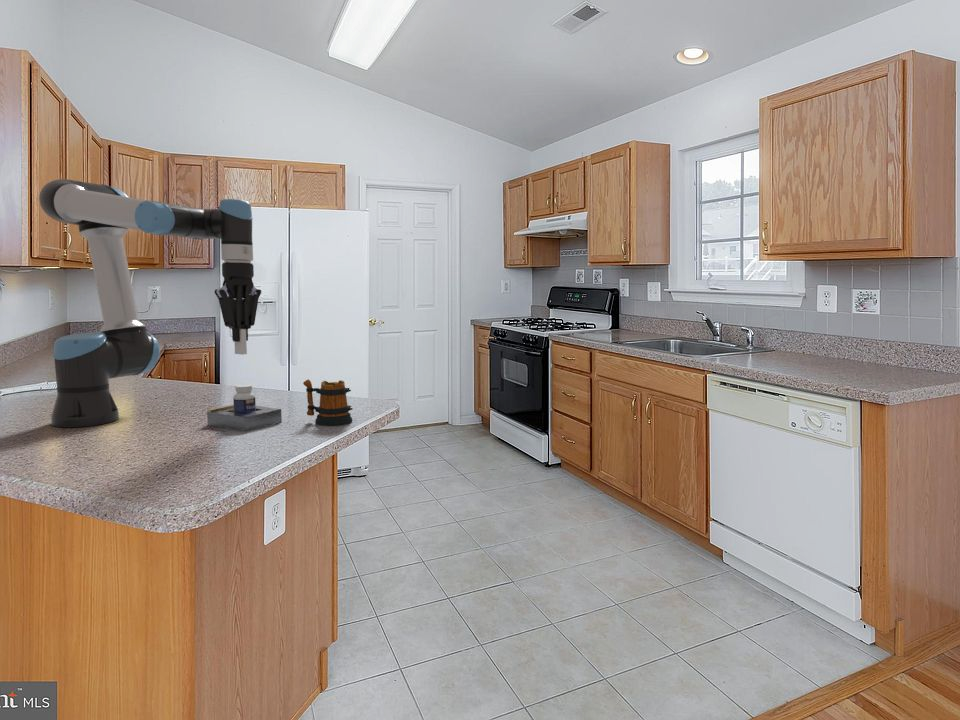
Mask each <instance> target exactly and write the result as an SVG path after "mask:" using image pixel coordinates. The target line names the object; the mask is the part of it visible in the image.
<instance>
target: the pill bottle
mask: <svg viewBox="0 0 960 720" xmlns="http://www.w3.org/2000/svg"><path fill="white" fill-rule="evenodd" d="M252 391H253V386H252V384H237V385H236V386H235V392H236V393H235V394H233V397H232V399H233V404H234V413H240V414H245V413H249V412H254V411H256V406H257V405H256V404H257V403H256V394H254V393H253V392H252Z"/></svg>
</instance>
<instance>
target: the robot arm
mask: <svg viewBox="0 0 960 720" xmlns="http://www.w3.org/2000/svg"><path fill="white" fill-rule="evenodd" d="M38 197H39V198H38V199H39V200H38V201H39V205H40V207H41V210H42V211H43V212H44V213H45V214H46V215H47V216H48V217H49V218H51V219H52V220H54V221H57V222H59V223H63V224H69V225H77V226H78V230H79V231H78V233H79V235H80V236H82V237H83V238H84V239H86V240H87V244H88V249H89V254H90V259H91V264H92V270H93V275H94V279H95V283H96V284H95V285H96V290H97V295H98V300H99V305H100V310H101V316H102V321H103V326H102V327H101V328H100V330H99V331H88V332H81V333H73V334H69V335H64V336H61V337H58V338H57V339H56V340H55V341H54V343H53V354H52V356H53V359H54V368H55V369H54V370H55V381H56V390H57V391H56V392H57V393H56V399H55V403H54V406H53V409H52V413H51V415H50V416H51V421H50V422H51V425H52V426H53V427H55V428H56V427H57V428H83V427H91V426H99V425H103V424H108V423H109V424H110V423H112V422H115V421H117V420H118V419H120V417H119V416H120V415H119V414H120V413H119V409H118V407H117V405H116V403H115V400H114V398H113V396H112V393H111V391H110V384H109V382H110V381H109V379H110V380H111V379H117V378H123V377H128V376H139V375H141V374H146V373H148V372H150V371H151V370H153V369H154V368H155V366H156V364H158V361H159V359H160V355H161V354H160V353H161V350H160V343H159V341H158V339H156V338H155V336H154V335H153V334H151V333H149V332H147V331H148V330H147V326H146V325H145V324H144V323H142V322H141V321H140V320H139V316H138V312H137V306H136V300H135V295H134V291H133V284H132V280H131V275H130V268H129V264H128V263H129V262H128V258H127V253H126V248H125V243H124V237H125V235H127V233H128V229H131V230H135V231H136V230H137V231H141V232H143V233H146V234H149V235H150V234H151V235H154V236H155V235H156V236H173V237H180V238H182V237H183V238H188V239H192V240H201V241H202V240H211V239H214V240H216V239H219V240H220V251H221V253H220V254H221V260H222V261H223V262H222V263H221V274H222V277H223V282H222V286H221V287H220V288H218V289H214V294H215V296H216V297H217V299H218V303H219V307H220V311H221V315H222V319H223V323H224V324H223V325H224V326H225V327H227V328H229V329H231V335H232V336H231V337H232V342H233V343H234V355H241V356H242V355H247V354H248V353H247V352H248V351H247V341H248V339H249V329H251V328H252V327H253V326H254V325H255V324H256V323H255V322H256V316H257V311H258V306H259V305H258V304H259V298H260V296H261V295H262V290H261V289H258V288H256V287H255V286H254V282H253V278H254V277H255V274H254V269H255V268H254V264H253V263H252V261H254V247H253V246H254V245H253V215H252V205H251V203H250V202H249V201H247V200H243V199H234V198H226V199H225V198H224V199H221V200H220V201H219V206H218V208H199V207H193V206H187V205H185V206H184V205H178V204H171V203H167V202H161V201H154V200H148V199H141V198H136V197H135V198H134V197H129V196H128V195H127V194H126V193H125V192H124V191H122V190H121V189H119V188H117V187H113V186H110V185H107V184H98V183H93V182H87V181H80V180H73V179H68V178H67V179H66V178H64V179H63V178H61V179H59V178H58V179H53V180H51V181H49V182H48V183H46V184H44V185H43V187H41V190H40V192H39V195H38Z"/></svg>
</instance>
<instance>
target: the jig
mask: <svg viewBox="0 0 960 720" xmlns="http://www.w3.org/2000/svg"><path fill="white" fill-rule="evenodd" d="M206 416H207V426H212V427H216V428H217V427H218V428H223V429H230V430H236V431H242V432H247V431H251V430H255V429H259V428H264V427H267V426H271V425H275V424H279V423H280V424H281V423H282V420H283V419H282V409H281V408H277V407H269V406H268V407H267V406H262V405H261V406H259V405H256V411H254V412H249V413H245V414H240V413H234V403H233V404H229V405H224V406H219V407H214V408H210V409H207V411H206Z"/></svg>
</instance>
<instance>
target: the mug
mask: <svg viewBox="0 0 960 720" xmlns="http://www.w3.org/2000/svg"><path fill="white" fill-rule="evenodd" d="M302 384H303V386H305V387H306V391H305V392H306V394H307V395H306V399H307V403H308V405H307V411H306V415H307V416H311V417H312V416H315V412H316V413H318V414H317V415H316V419H315V425H316V426H320V427H340V426H346V425H349V424H351V423H353V417H352V416H351V415H352V414H351V413H350V411H353V407H352V405H348V399H347V393H349V392H351V391H352V389H350V387H346V384H345V381H344V380H338V381H334V382H333V381H331V382H330V381H329V382H328V381H327V380H323V381H322V382H321V385H320V388H319V387H313V385H312V381H311V380H310V379H306V380H304V382H303V383H302ZM313 392H315V393H316V394H319V395H320V397H319V406H315V405H314V399H313Z"/></svg>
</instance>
